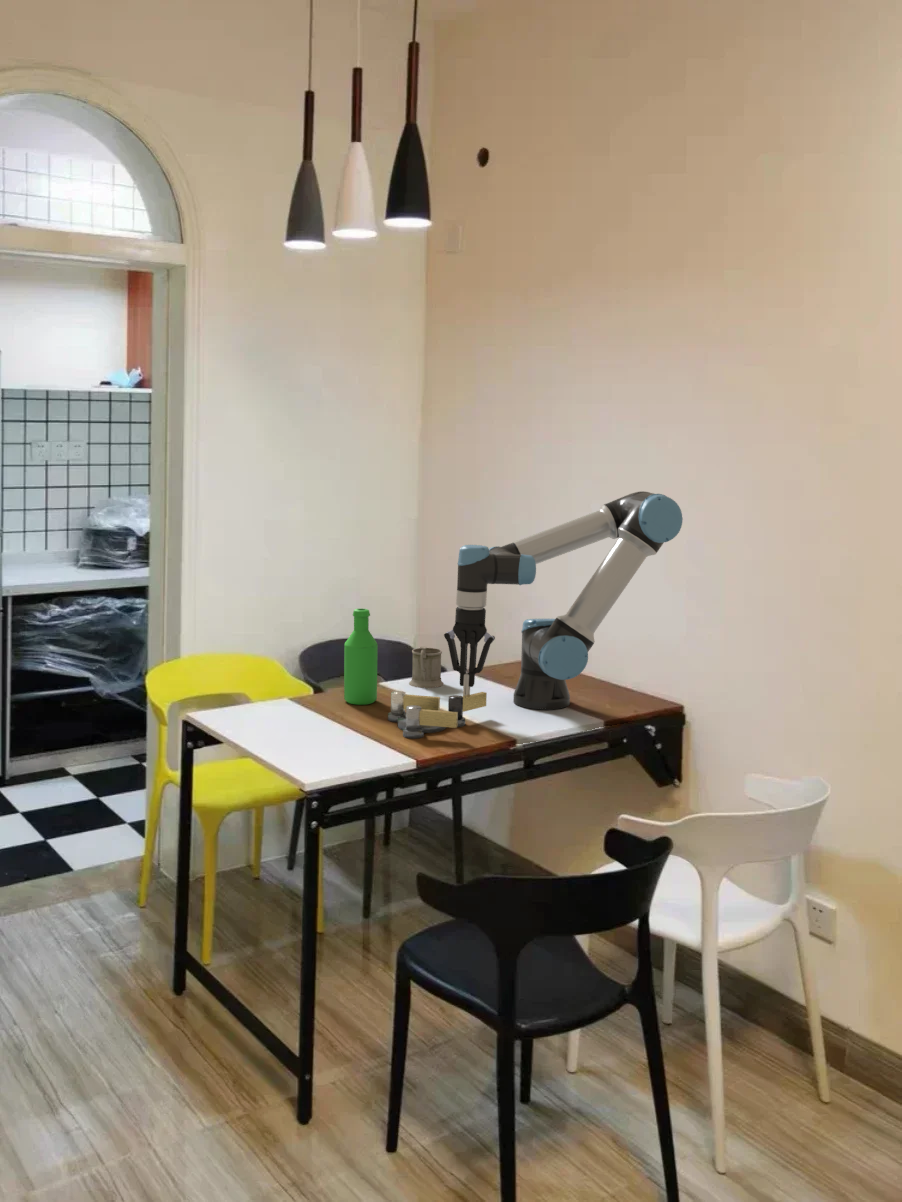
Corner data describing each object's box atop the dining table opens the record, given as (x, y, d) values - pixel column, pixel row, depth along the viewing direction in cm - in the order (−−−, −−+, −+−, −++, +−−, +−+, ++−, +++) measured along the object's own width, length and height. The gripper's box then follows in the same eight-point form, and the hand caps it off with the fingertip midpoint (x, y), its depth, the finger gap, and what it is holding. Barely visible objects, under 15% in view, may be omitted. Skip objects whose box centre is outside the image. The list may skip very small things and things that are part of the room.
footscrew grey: (404, 730, 270) (404, 708, 269) (408, 727, 273) (408, 704, 272) (455, 735, 267) (455, 712, 266) (458, 731, 270) (458, 708, 270)
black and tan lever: (455, 721, 279) (456, 699, 278) (445, 718, 282) (445, 696, 281) (489, 712, 288) (489, 691, 287) (478, 709, 290) (479, 689, 290)
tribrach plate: (467, 722, 284) (467, 713, 283) (451, 742, 267) (451, 732, 266) (391, 716, 288) (391, 707, 288) (370, 735, 271) (370, 725, 271)
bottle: (379, 698, 306) (380, 607, 302) (374, 706, 297) (375, 612, 293) (347, 696, 307) (348, 606, 303) (341, 704, 298) (341, 611, 294)
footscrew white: (389, 715, 284) (389, 693, 283) (393, 711, 287) (393, 690, 286) (437, 719, 281) (437, 697, 280) (440, 715, 284) (441, 694, 283)
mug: (412, 679, 329) (413, 638, 327) (445, 680, 328) (446, 640, 326) (403, 690, 315) (404, 648, 313) (438, 692, 314) (439, 650, 312)
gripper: (498, 606, 285) (493, 697, 289) (449, 602, 288) (445, 692, 292) (493, 611, 278) (487, 704, 282) (442, 607, 280) (438, 699, 284)
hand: (466, 698), depth 287 cm, fingers closed
